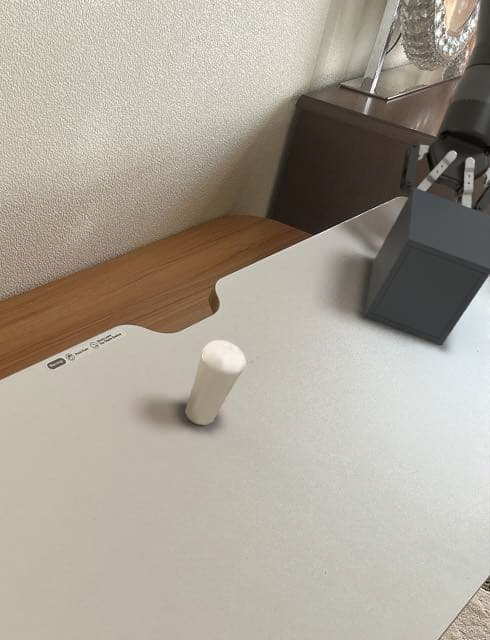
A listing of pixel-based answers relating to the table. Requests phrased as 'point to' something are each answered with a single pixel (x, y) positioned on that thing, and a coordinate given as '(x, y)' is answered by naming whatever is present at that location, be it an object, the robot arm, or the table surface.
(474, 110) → the robot arm
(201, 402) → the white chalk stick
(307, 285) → the table surface
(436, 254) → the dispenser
